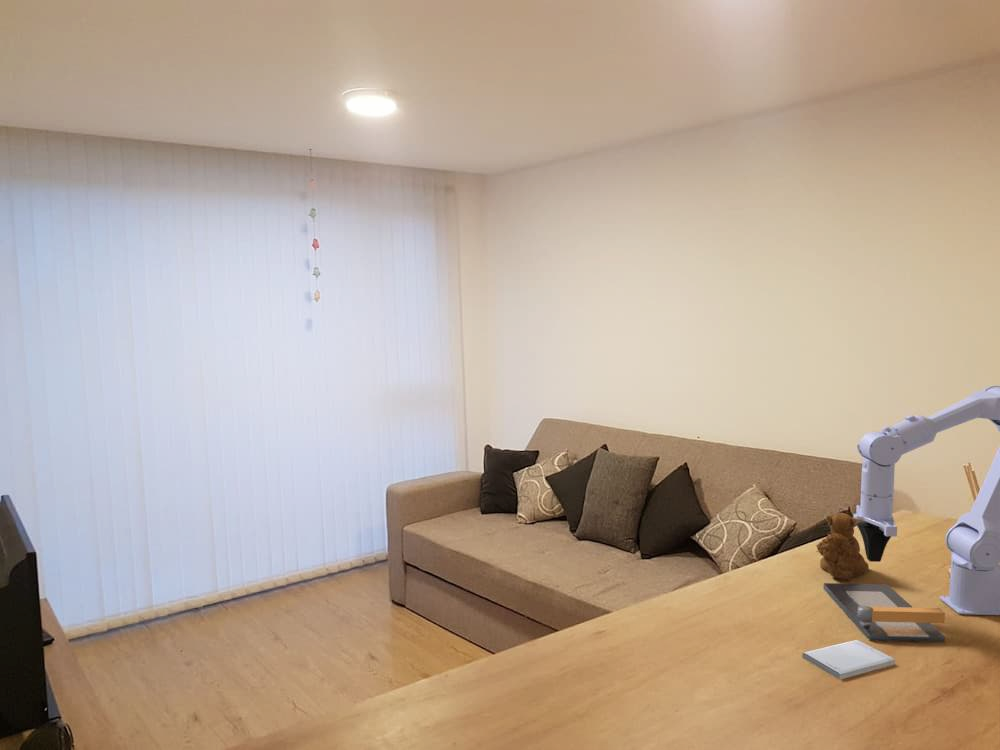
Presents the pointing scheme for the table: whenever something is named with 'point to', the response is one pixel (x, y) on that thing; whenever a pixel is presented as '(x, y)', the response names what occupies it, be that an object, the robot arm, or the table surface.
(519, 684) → the table surface
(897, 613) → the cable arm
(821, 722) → the table surface
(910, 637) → the psu panel
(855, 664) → the hard drive
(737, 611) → the table surface
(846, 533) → the stuffed squirrel
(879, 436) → the robot arm
